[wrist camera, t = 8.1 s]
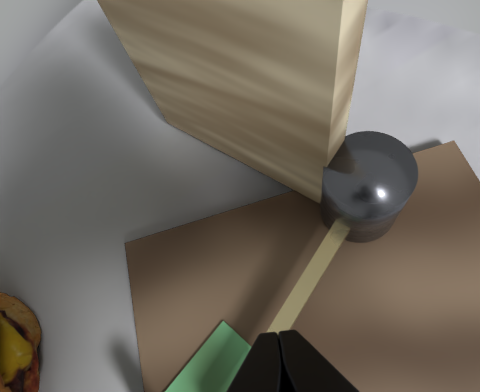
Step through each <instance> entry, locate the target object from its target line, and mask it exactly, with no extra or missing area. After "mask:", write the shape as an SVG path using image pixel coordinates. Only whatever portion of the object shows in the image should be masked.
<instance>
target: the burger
mask: <svg viewBox="0 0 480 392" xmlns="http://www.w3.org/2000/svg"><path fill="white" fill-rule="evenodd" d="M40 335H41V330H40V327H39V324H38V321H37V319H36V317H35V315H34V314H33V312H32V311H31V310H30V309H29V308H28V307H27V306H25V304H24V303H23V302H21V301H20V300H18V299H17V298H16V297H14V296H13V297H10V296H8V295H7V294H5V293H1V292H0V392H38V390H39V381H40V376H39V371H38V367H39V361H38V355H37V347H38V345H39V343H40V340H41V336H40Z"/></svg>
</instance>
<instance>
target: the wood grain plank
mask: <svg viewBox="0 0 480 392" xmlns="http://www.w3.org/2000/svg"><path fill="white" fill-rule="evenodd" d="M97 1H98V3H99V5H100V6H101V8H102V10H103V12H104V13H105V15H106V17H107V19H108V20H109V22H110V24H111V25H112V27H113V29H114V31H115V32H116V34H117V36H118V38H119V39H120V41H121V43H122V45H123V46H124V48H125V50H126V52H127V53H128V55H129V57H130V59H131V60H132V62H133V64H134V66H135V67H136V69H137V71H138V72H139V74H140V76H141V78H142V79H143V81H144V83H145V85H146V86H147V88H148V90H149V92H150V93H151V95H152V97H153V99H154V100H155V102H156V104H157V106H158V107H159V109H160V111H161V113H162V114H163V116H164V118H165V119H166V121H167V123H169V124H171V125H173V126H174V127H176V128H178V129H180V130H182V131H184V132H186V133H188V134H190V135H191V136H193V137H195V138H197V139H199V140H201V141H203V142H205V143H206V144H208V145H210V146H212V147H214V148H216V149H218V150H220V151H221V152H223V153H225V154H227V155H229V156H231V157H233V158H235V159H236V160H238V161H240V162H242V163H244V164H246V165H248V166H250V167H252V168H253V169H255V170H257V171H259V172H261V173H263V174H265V175H267V176H268V177H270V178H272V179H274V180H276V181H278V182H280V183H282V184H283V185H285V186H287V187H289V188H291V189H293V190H295V191H297V192H298V193H300V194H302V195H304V196H306V197H308V198H310V199H312V200H314V201H315V202H317V203H319V204H320V212H321V216H322V219H323V221H324V223H325V225H326V226H327V227H328V229H329V232H328V233H327V235H326V237H325V238H324V240H323V241H322V243H321V245H320V246H319V248H318V249H317V251H316V253H315V254H314V256H313V258H312V259H311V261H310V262H309V264H308V266H307V267H306V269H305V270H304V272H303V274H302V275H301V277H300V279H299V280H298V282H297V283H296V285H295V287H294V288H293V290H292V291H291V293H290V295H289V296H288V298H287V300H286V301H285V303H284V304H283V306H282V308H281V309H280V311H279V312H278V314H277V316H276V317H275V319H274V321H273V322H272V324H271V325H270V327H269V329H268V330H267V332H276V333H277V334H278V333H279V332H280V331H284V330H291V328H292V326H293V325H294V323H295V321H296V320H297V318H298V316H299V315H300V313H301V311H302V310H303V308H304V306H305V305H306V303H307V302H308V300H309V298H310V297H311V295H312V293H313V292H314V290H315V288H316V287H317V285H318V283H319V282H320V280H321V278H322V277H323V275H324V273H325V272H326V270H327V268H328V267H329V265H330V263H331V262H332V260H333V258H334V257H335V255H336V253H337V252H338V250H339V248H340V247H341V245H342V243H343V242H344V240H346V241H350V242H355V243H365V242H371V241H374V240H376V239H379V238H380V237H382V236H383V235H385V234H386V233H387V232H388V231H389V230H390V228H391V227H392V225H393V224H394V222H395V220H396V219H397V217H398V215H399V214H400V212H401V211H402V209H403V207H404V206H405V204H406V202H407V201H408V199H409V198H410V196H411V194H412V193H413V191H414V189H415V187H416V184H417V181H418V166H417V162H416V160H415V158H414V156H413V154H412V153H411V151H410V150H409V149H408V148H407V147H406V145H404V144H403V143H402V142H401V141H399V140H398V139H396V138H394V137H392V136H390V135H387V134H384V133H380V132H374V131H363V132H357V133H353V134H350V135H347V136H345V134H346V128H347V122H348V116H349V110H350V104H351V98H352V92H353V86H354V80H355V74H356V68H357V63H358V57H359V51H360V45H361V39H362V33H363V27H364V21H365V15H366V9H367V3H368V0H97Z"/></svg>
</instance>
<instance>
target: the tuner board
mask: <svg viewBox="0 0 480 392" xmlns="http://www.w3.org/2000/svg"><path fill="white" fill-rule="evenodd" d="M412 154H413V156H414V158H415V160H416V162H417V166H418V181H417V184H416V187H415V189H414V191H413V193H412V194H411V196H410V198H409V199H408V201H407V202H406V204H405V206H404V207H403V209H402V211H401V212H400V214H399V215H398V217H397V219H396V220H395V222H394V224H393V225H392V227H391V228H390V230H389V231H388V232H387V233H386V234H385V235H383V236H382V237H380V238H379V239H376V240H374V241H371V242H365V243H355V242H350V241H346V240H344V242H343V243H342V245H341V247H340V248H339V250H338V252H337V253H336V255H335V257H334V258H333V260H332V262H331V263H330V265H329V267H328V268H327V270H326V272H325V273H324V275H323V277H322V278H321V280H320V282H319V283H318V285H317V287H316V288H315V290H314V292H313V293H312V295H311V297H310V298H309V300H308V302H307V303H306V305H305V306H304V308H303V310H302V311H301V313H300V315H299V316H298V318H297V320H296V321H295V323H294V325H293V326H292V328H291V330H293V329H295V330H297V331H298V332H299V333H300V334H301V335H302V336H303V337H304V338H305V339H306V340H307V341H308V342H309V343H310V344H312V345H313V346H314V347H315V348H316V349H317V350H318V351H319V352H320V353H321V354H322V355H323V356H324V357H325V358H326V359H327V360H328V361H329V362H330V363H331V364H332V365H333V366H334V367H335V368H336V369H337V370H338V371H339V372H340V373H341V374H342V375H343V376H344V377H345V378H346V379H347V380H348V381H349V382H351V383H352V384H353V385H354V386H355V387H356V388H357V389H358V390H359V391H360V392H480V181H479V179H478V178H477V176H476V175H475V173H474V171H473V170H472V168H471V167H470V165H469V163H468V162H467V160H466V159H465V157H464V156H463V154H462V152H461V151H460V149H459V148H458V146H457V144H456V143H455V141H451V142H448V143H444V144H441V145H438V146H435V147H432V148H428V149H425V150H422V151H419V152H416V153H412ZM328 232H329V229H328V227H327V226H326V225H325V223H324V221H323V219H322V216H321V212H320V204H319V203H317V202H315V201H314V200H312V199H310V198H308V197H306V196H304V195H302V194H300V193H298V192H297V191H295V190H294V191H290V192H287V193H284V194H281V195H278V196H274V197H271V198H268V199H265V200H262V201H258V202H255V203H252V204H249V205H246V206H242V207H239V208H236V209H233V210H230V211H226V212H223V213H220V214H217V215H214V216H210V217H207V218H204V219H201V220H197V221H194V222H191V223H188V224H185V225H181V226H178V227H175V228H172V229H169V230H165V231H162V232H159V233H156V234H153V235H149V236H146V237H143V238H140V239H137V240H133V241H130V242H127V243H125V249H126V257H127V264H128V272H129V280H130V287H131V295H132V303H133V310H134V318H135V326H136V333H137V341H138V348H139V356H140V364H141V371H142V379H143V387H144V392H226V391H227V389H228V387H229V386H230V384H231V382H232V380H233V379H234V377H235V375H236V373H237V372H238V370H239V368H240V366H241V364H242V363H243V361H244V359H245V357H246V356H247V354H248V352H249V350H250V349H251V347H252V345H253V343H254V342H255V340H256V338H257V336H258V335H259V334H260V333H266V332H267V330H268V329H269V327H270V325H271V324H272V322H273V321H274V319H275V317H276V316H277V314H278V312H279V311H280V309H281V308H282V306H283V304H284V303H285V301H286V300H287V298H288V296H289V295H290V293H291V291H292V290H293V288H294V287H295V285H296V283H297V282H298V280H299V279H300V277H301V275H302V274H303V272H304V270H305V269H306V267H307V266H308V264H309V262H310V261H311V259H312V258H313V256H314V254H315V253H316V251H317V249H318V248H319V246H320V245H321V243H322V241H323V240H324V238H325V237H326V235H327V233H328Z"/></svg>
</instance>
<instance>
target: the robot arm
mask: <svg viewBox="0 0 480 392" xmlns="http://www.w3.org/2000/svg"><path fill="white" fill-rule="evenodd" d="M226 392H360V391H359V390H358V389H357V388H356V387H355V386H354V385H353V384H352V383H351V382H349V381H348V380H347V379H346V378H345V377H344V376H343V375H342V374H341V373H340V372H339V371H338V370H337V369H336V368H335V367H334V366H333V365H332V364H331V363H330V362H329V361H328V360H327V359H326V358H325V357H324V356H323V355H322V354H321V353H320V352H319V351H318V350H317V349H316V348H315V347H314V346H313V345H312V344H310V343H309V342H308V341H307V340H306V339H305V338H304V337H303V336H302V335H301V334H300V333H299V332H298V331H297V330H295V329H293V330H284V331H280V332H279V333H278V334H277V333H276V332H266V333H260V334H259V335H258V336H257V338H256V340H255V342H254V343H253V345H252V347H251V349H250V350H249V352H248V354H247V356H246V357H245V359H244V361H243V363H242V364H241V366H240V368H239V370H238V372H237V373H236V375H235V377H234V379H233V380H232V382H231V384H230V386H229V387H228V389H227V391H226Z"/></svg>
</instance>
